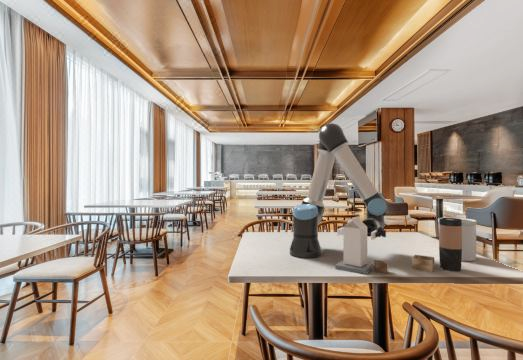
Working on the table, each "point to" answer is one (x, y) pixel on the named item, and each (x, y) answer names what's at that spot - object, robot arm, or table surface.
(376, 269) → the walnut block
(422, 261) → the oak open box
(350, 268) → the slate board
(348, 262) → the milk carton
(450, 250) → the travel mug
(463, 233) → the utensil holder
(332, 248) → the table surface
